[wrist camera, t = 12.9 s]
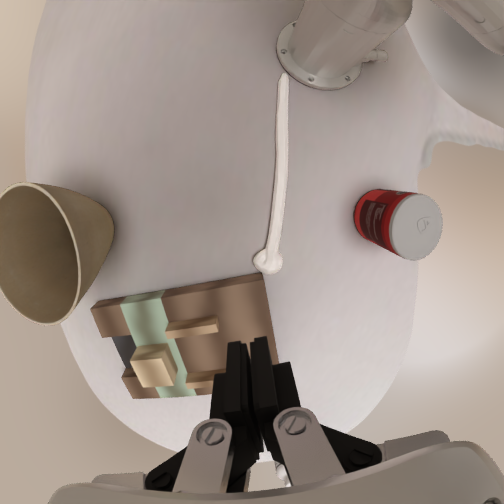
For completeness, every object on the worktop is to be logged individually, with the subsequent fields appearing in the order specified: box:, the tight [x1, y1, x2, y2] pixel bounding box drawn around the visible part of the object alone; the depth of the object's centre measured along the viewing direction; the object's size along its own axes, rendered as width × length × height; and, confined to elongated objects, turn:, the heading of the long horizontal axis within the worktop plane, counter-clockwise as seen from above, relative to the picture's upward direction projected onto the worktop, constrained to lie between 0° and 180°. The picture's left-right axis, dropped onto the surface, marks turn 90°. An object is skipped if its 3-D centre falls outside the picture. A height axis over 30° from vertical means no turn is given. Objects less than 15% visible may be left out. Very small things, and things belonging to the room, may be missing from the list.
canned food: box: [354, 189, 443, 260], centre depth 32 cm, size 8×8×11 cm
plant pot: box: [0, 182, 114, 326], centre depth 28 cm, size 15×15×16 cm
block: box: [130, 343, 178, 388], centre depth 36 cm, size 5×5×4 cm
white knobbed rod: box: [253, 73, 289, 275], centre depth 34 cm, size 28×4×3 cm, turn 177°
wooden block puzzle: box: [90, 272, 279, 399], centre depth 38 cm, size 26×18×6 cm
